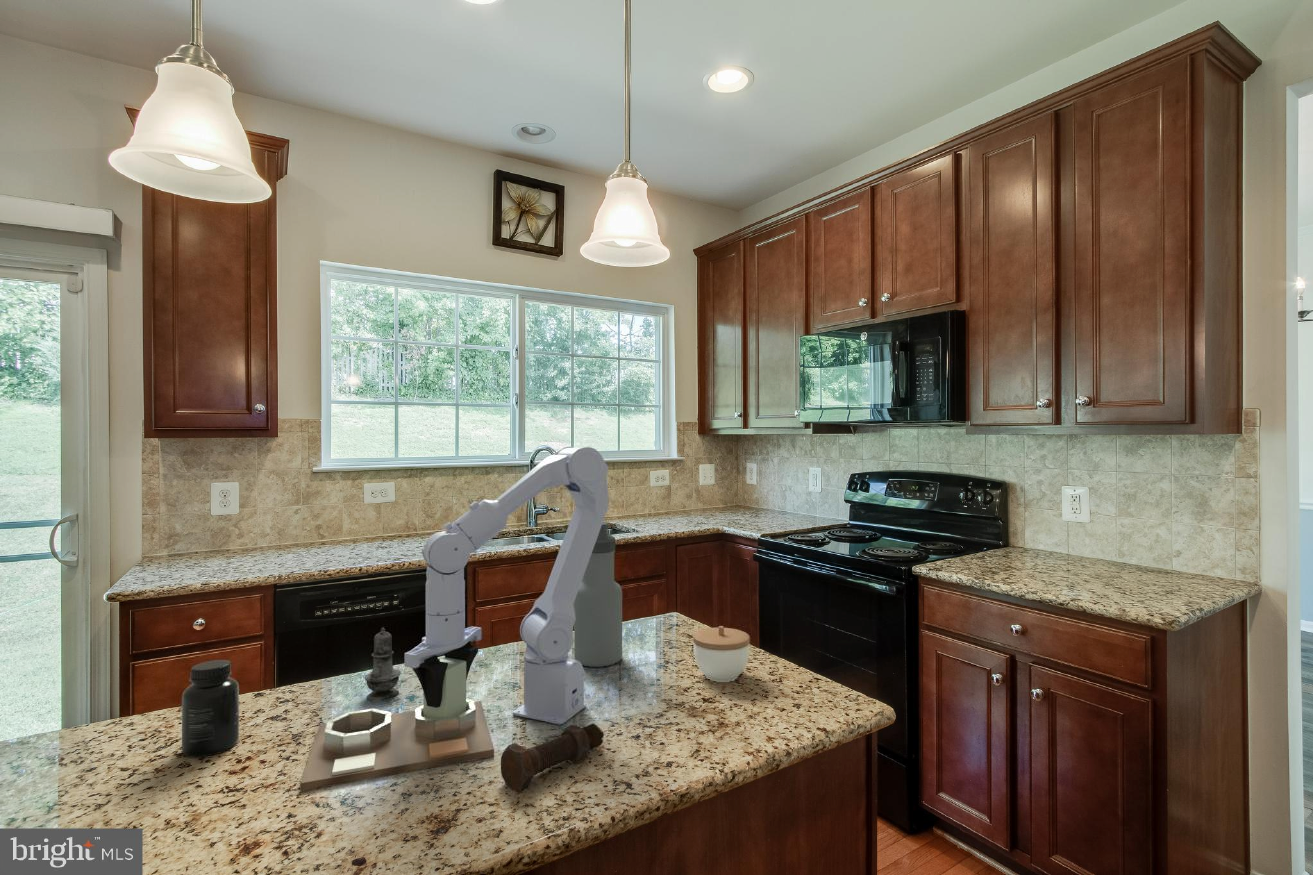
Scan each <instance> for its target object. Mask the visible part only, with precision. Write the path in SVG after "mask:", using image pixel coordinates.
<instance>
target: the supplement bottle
mask: <svg viewBox="0 0 1313 875" xmlns="http://www.w3.org/2000/svg"><path fill="white" fill-rule="evenodd" d="M231 664H232V663H231V661H230V660H228V659H214V660H209V661H204V662H200V663H198V664H195V665H193V666H192V667H191V668H190V677H189V682H190V683H192V684H189V685H188V686H187V687H186V689H185V690H184V691H183V693H182V694H181V752H182V753H183V755H185V756H186V757H188V758H189V757H190V758H201V757H202V758H204V757H207V756H213V755H217V754H219V753H222V752H224V751H226V750H229V749H230V748H232V747H233V746H234V745H236V744H237V742H238V741H239V738H240V737H239V734H240V731H239V729H240V718H239V717H240V716H239V715H240V712H239V711H240V709H239V708H240V702H239V701H240V697H239V696H240V694H239V693H240V692H239V691H240V687H239V682H238V681H237V680H236V679H235V678H233V677H230V676H231V675H232V669H231V668H232V666H231Z"/></svg>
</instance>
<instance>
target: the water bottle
mask: <svg viewBox="0 0 1313 875" xmlns="http://www.w3.org/2000/svg"><path fill="white" fill-rule="evenodd" d="M607 530H609V523H608V522H606V521H603V523H602V526H601V529H600V531H599V534H598V537H597V540H596V543H595V545H594V548H593V551H592V554H591V556H590V559H589V562H588V565H587V568H586V570H585V573H584V576H583V579H582V581H581V584H580V587H579V590H578V593H577V595H576V598H575V601H574V612H575V623H574V626H573V630H574V632H573V634H574V635H573V645H574V647H573V648H574V649H573V650H574V651H573V652H574V658H573V659H574V660H577V661H579V662H581V664H582V666H583V665H584V666H583V667H587V666H589V668H604V666H606V667H609V665H610V666H613V665H616V664H617V663H619V662H620V661H621V660H622V658H623V590H622V587H621V585H620V584H619V583H618V582H616V580H615V553H616V537H615V536H613V535H612V534H607V533H608V532H607ZM615 663H616V664H615Z"/></svg>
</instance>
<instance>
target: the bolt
mask: <svg viewBox="0 0 1313 875" xmlns="http://www.w3.org/2000/svg"><path fill="white" fill-rule="evenodd" d="M604 736H605V734H604V731H603V730H602V729H601V728H600V727H599V726H598V725H597V724H595V723H590V724H587V725H585V726H582V727H581V726H580V725H577V724H570V725H567V726H565V728H564V729H563V730H562V732H561V733H560V736H557V737H555V738H552V739H551V740H548V741H546V742H542V743H541V744H540V743H539V744H538V745H535V746H532V747H528V748H526V747H524V746H522V745H520V744H518V743H517V742H513V743H511V744H509V745H507V746H506V748H505V749H504V751H503V752H502V754H501V756H500V774H501V777H502V780H503V781H504V783H505V785H506V787H507V788H508V789H511V791H513V792H516V793H517V792H518V793H522V792H525V791H527V790H528V789H529V787H530V786H531V783H532V781H533V779H534V777H535V776H537V775H538V774H539V773H541V772H544V771H547V770H548V769H550V768H552V767H555V766H558V765H560V764H562V763H564V762H566V761H568V762H570V763H574V764H578V763H580V762H582V761H584V760H585V759H586V758H587V756H588V755H589V751H592V750H593V749H596V748H598V747H600V746H602V744H603V743H604Z"/></svg>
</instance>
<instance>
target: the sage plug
mask: <svg viewBox="0 0 1313 875" xmlns="http://www.w3.org/2000/svg"><path fill="white" fill-rule="evenodd" d="M439 659H440V662H446V663H448V666H447V669H446V672H445V676H444V680H443V688H442V701H441V705H440V707H438V708H435V707H430V706H427V703H426V699H425V696H424V692H423V691H422V692H423V694H422V696H423V698H422V699H423V704H422V705H423V717H426V718H430V719H435V720H439V719H445V718H452V717H457V716H459V715H461V714H462V713H464V712H466V699H467V680H466V661H463V660H457V659H452V658H446V657H445V656H443V657H441V658H439Z"/></svg>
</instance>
